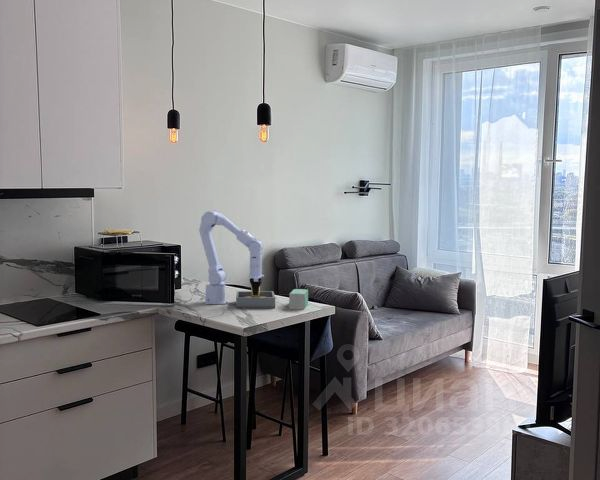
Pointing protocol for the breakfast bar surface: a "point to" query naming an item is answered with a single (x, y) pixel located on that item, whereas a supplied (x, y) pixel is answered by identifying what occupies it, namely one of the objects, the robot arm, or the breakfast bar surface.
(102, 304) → the breakfast bar surface
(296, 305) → the box
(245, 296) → the crate
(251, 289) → the peg
